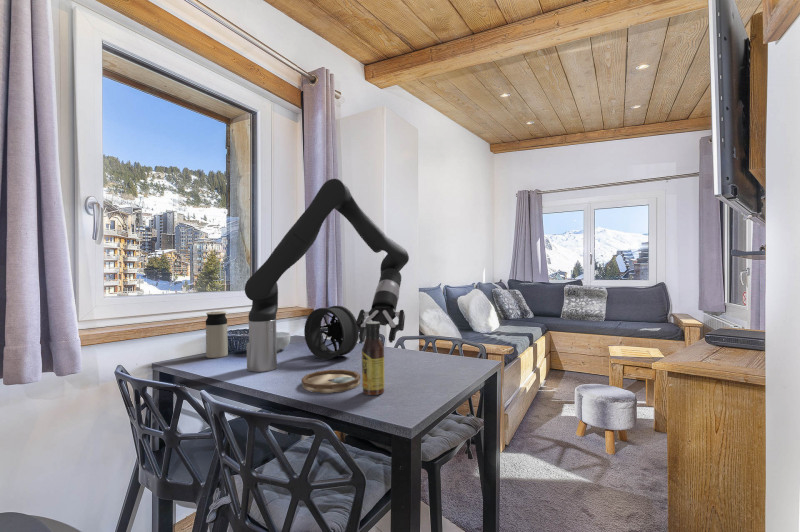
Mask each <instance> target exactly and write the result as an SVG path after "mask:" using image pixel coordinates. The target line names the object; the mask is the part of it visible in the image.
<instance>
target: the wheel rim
mask: <svg viewBox="0 0 800 532" xmlns="http://www.w3.org/2000/svg"><path fill="white" fill-rule="evenodd" d="M330 314H331V315H330ZM326 316H328V317H330V318H331V319H330V321H329V323H328V321H327V318H326ZM323 320H324V323H325V324H324V325H322V321H323ZM356 321H357V319H356V316H354V314H353V313H352V312H351V311H350V310H349V309H348V308H346V307H345V306H341V305H332V306H329V307H328V308H325V307H320V308H316V309H314V310H313V311H312V312H310V314H309V315H308V316H307V318H306V320H305V323H304V327H303V328H304V331H303V334H304V340H305V344H306V346H307V347H308V349H309V351H310V352H311V354H312V355H313V356H315V357H316V358H318V359H319V360H323V359H324V361H325V360H331V359H333V358H334V359H335V357H341V356H346V355H347V354H349V353H351V352H352V351H353V350H354V349H355V348H356V345H357V343H358V342H359V341H358V340H359V333H360V330H358V329H357V326H356ZM322 328H323V329H326V328H327V331H325V330H322ZM322 334H324V335H326V336H325V338H324V340H323V337H322ZM328 338H330V339H329V340H330V341H331V343H329V344H327V345H326V343H327V339H328ZM337 344H338V345H337ZM332 345H333V349H334V350H332V349H330V348H329V346H332ZM337 355H339V356H337Z"/></svg>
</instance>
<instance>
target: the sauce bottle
mask: <svg viewBox="0 0 800 532" xmlns="http://www.w3.org/2000/svg"><path fill="white" fill-rule="evenodd" d="M380 329H381V325H380V322H376V321H372V320H371V322H366V336H365V340H364V342H363V343H364V344H363V345H362V350H361V374H362V375H361V378H362V380H361V381H362V385H361V386H362V392H363V394H365V395H367V396H378V395H382V394H383V393H384V392H385V384H386V383H385V351H384V350H385V346H384V343H383V341H382V340H381V338H380V336H381V335H380Z"/></svg>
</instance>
